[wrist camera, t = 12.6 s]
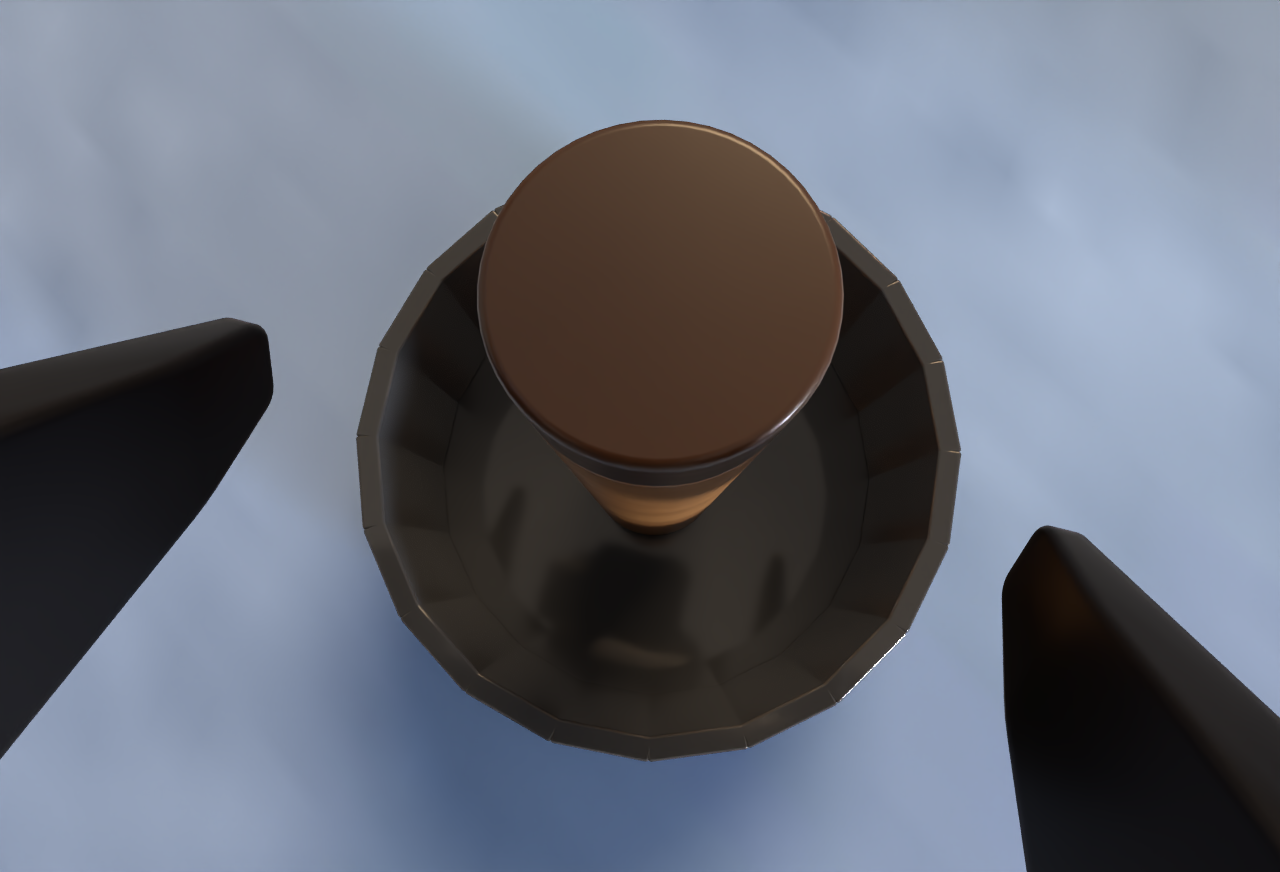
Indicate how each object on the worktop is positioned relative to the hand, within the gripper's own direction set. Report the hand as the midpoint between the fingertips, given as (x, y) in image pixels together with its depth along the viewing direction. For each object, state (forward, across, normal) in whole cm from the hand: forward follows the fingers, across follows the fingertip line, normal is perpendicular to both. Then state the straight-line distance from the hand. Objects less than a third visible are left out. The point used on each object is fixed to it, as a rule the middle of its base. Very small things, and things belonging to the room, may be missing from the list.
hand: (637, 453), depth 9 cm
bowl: (+8, 0, +6) cm, 10 cm away
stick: (+7, 0, +6) cm, 9 cm away
